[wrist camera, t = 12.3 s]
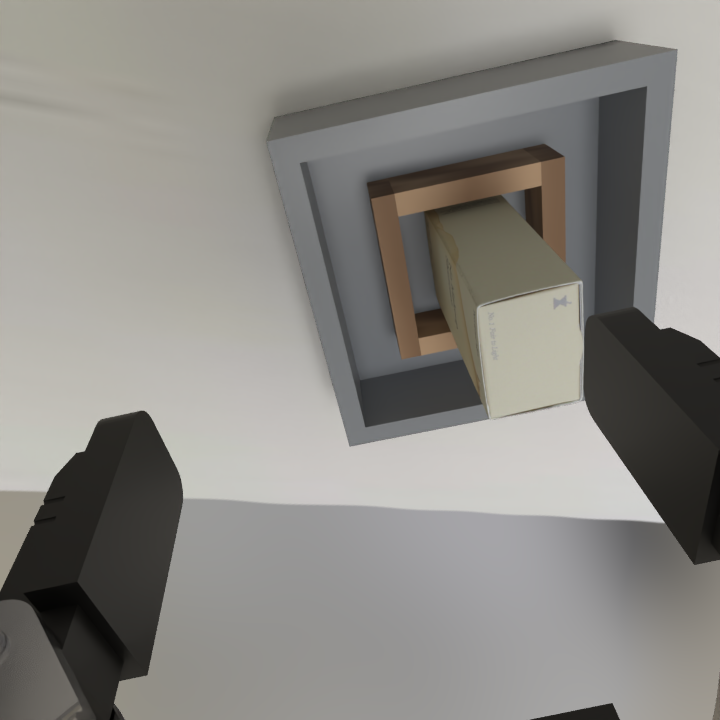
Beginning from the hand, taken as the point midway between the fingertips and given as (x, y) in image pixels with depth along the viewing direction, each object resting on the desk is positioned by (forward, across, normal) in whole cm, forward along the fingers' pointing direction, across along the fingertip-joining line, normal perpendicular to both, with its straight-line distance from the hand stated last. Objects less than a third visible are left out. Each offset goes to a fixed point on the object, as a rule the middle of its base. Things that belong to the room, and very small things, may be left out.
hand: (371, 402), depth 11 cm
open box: (+24, -7, +8) cm, 26 cm away
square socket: (+24, -7, +8) cm, 26 cm away
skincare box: (+23, -7, +8) cm, 26 cm away
